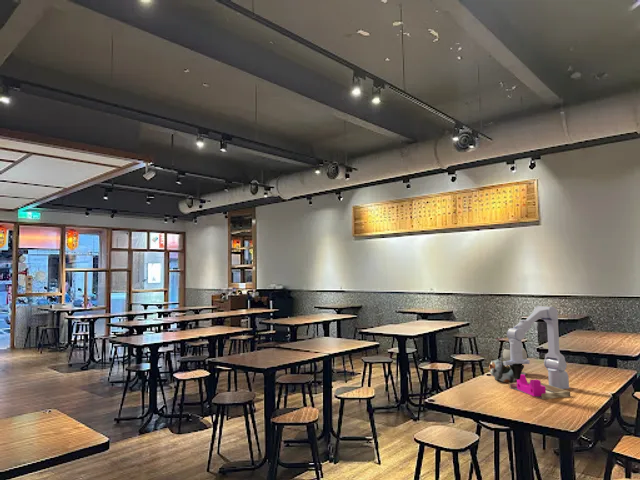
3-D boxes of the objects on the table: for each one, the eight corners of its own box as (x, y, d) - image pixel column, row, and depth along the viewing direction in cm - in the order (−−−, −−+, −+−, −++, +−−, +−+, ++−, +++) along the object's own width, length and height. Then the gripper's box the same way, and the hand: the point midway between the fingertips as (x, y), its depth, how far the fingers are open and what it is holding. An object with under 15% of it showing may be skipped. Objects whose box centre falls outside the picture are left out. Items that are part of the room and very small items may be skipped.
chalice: (513, 370, 284) (512, 346, 285) (533, 374, 272) (531, 349, 273) (498, 373, 277) (497, 348, 278) (518, 377, 265) (517, 351, 266)
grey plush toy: (513, 384, 247) (499, 362, 249) (494, 389, 255) (481, 367, 257) (520, 372, 259) (507, 350, 260) (502, 377, 266) (489, 356, 268)
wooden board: (534, 385, 245) (534, 380, 245) (570, 396, 222) (570, 391, 222) (509, 387, 240) (509, 383, 240) (543, 399, 217) (543, 394, 217)
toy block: (545, 395, 223) (545, 380, 223) (534, 396, 222) (533, 381, 222) (528, 388, 237) (527, 374, 238) (517, 389, 237) (516, 374, 237)
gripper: (509, 354, 223) (510, 381, 222) (533, 352, 227) (534, 379, 226) (500, 351, 230) (501, 378, 229) (523, 350, 234) (524, 376, 233)
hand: (517, 379), depth 228 cm, fingers closed
